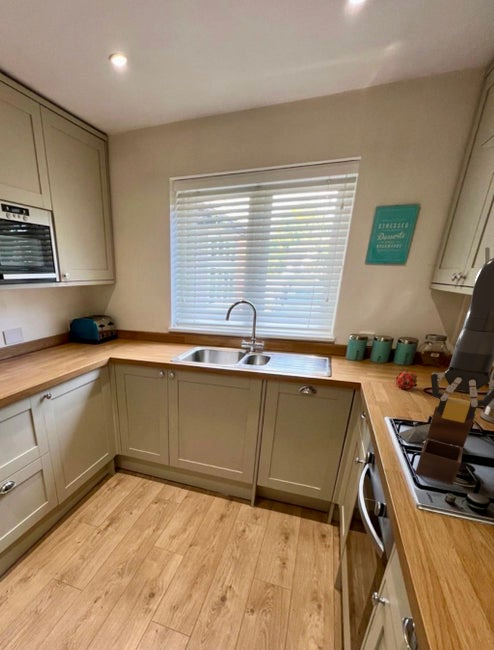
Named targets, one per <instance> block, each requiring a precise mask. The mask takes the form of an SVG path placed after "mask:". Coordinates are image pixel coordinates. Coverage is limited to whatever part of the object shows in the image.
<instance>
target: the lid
mask: <svg viewBox="0 0 494 650" xmlns="http://www.w3.org/2000/svg"><path fill="white" fill-rule="evenodd" d="M438 406H439V405H435V407H434V410H433V413H432V418H431V421H430V423H429V424H430V428H429V431H428V434H427V438H429V439H430V440H434V441H438V442H442V443H446V444H450V445H454V446H458V447H462V448H464V446H465V444H466V442H467V438H468V436H469V434H470V431H471V428H472V426H473V423H474V420H475V417H476V415H477V414H476V413H474V416H473V418H472V419H469V420H468V421H467V420H465V422H464V423H463V422H458V421H453V420H449V419H444V418H442V415H439V414H440V412H438V411H437V409H438Z"/></svg>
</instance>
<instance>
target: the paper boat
mask: <svg viewBox="0 0 494 650" xmlns="http://www.w3.org/2000/svg"><path fill="white" fill-rule="evenodd" d="M418 423H419V421H417V422H415V421H413V422H412V424H413V426H414V427H411V428H408V429H405V430H402V431H400V432H397V433H396V434H398V435H399V436H401V437H402V438H403V439H404V440H405V441H404V440H403V439H402V440H403V441H404V442H405V443H421V442H422V443H425V441H426V439H429V438H427V434H428V431H429V428H430V424H431V423H428V424H422V425H417V424H418ZM416 425H417V426H416ZM399 436H398V437H399Z"/></svg>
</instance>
